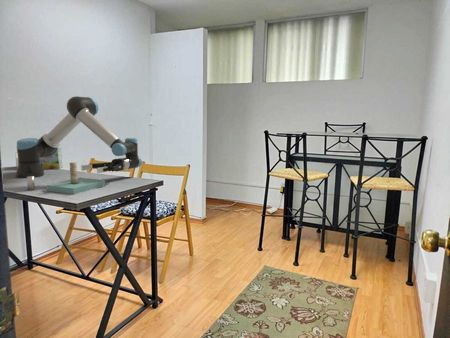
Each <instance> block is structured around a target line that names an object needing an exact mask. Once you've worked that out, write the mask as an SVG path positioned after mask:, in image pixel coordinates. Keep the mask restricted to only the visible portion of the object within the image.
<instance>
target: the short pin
mask: <svg viewBox="0 0 450 338" xmlns="http://www.w3.org/2000/svg"><path fill="white" fill-rule="evenodd" d="M26 181H27V183H26V184H27V190H28V191H35V190H36V186H35V185H36V184H35V177H34V176H28V177H27V178H26Z"/></svg>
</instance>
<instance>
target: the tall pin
mask: <svg viewBox="0 0 450 338" xmlns="http://www.w3.org/2000/svg"><path fill="white" fill-rule="evenodd" d="M77 167H78V166H77V162H70V163H69V172H70V173H69V174H70V180H71V184H73V185H75V184H78V182H77V178H78V169H77Z"/></svg>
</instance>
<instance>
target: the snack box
mask: <svg viewBox="0 0 450 338" xmlns="http://www.w3.org/2000/svg"><path fill="white" fill-rule="evenodd" d="M62 157H63V156H62V148H61V147H58V151H57V152H56V153H55V154H54V155H51V156H45V157H40V164H41V166H42V168H45V169H44V170H46V169H47V170H61V169H63V158H62Z"/></svg>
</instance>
